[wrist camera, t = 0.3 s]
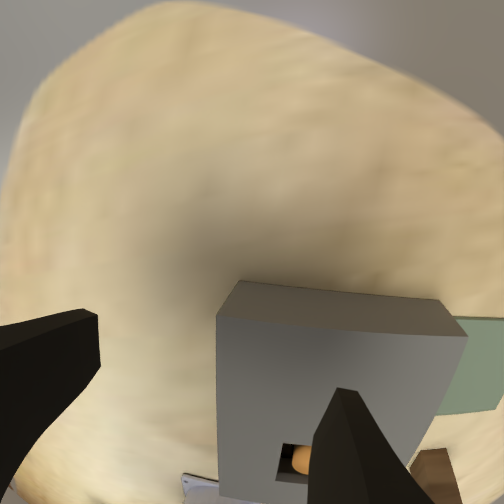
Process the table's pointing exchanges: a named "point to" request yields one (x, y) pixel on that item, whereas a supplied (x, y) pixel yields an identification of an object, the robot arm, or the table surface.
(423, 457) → the wooden peg
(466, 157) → the table surface
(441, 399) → the panel
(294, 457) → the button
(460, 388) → the mat
